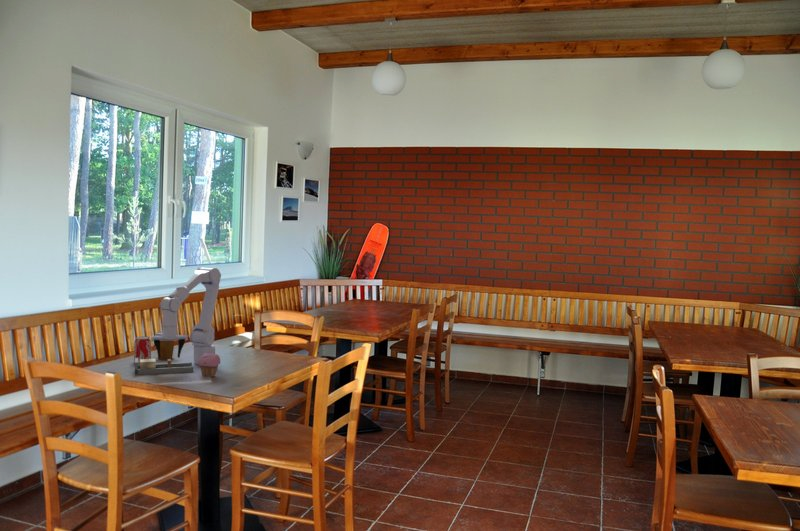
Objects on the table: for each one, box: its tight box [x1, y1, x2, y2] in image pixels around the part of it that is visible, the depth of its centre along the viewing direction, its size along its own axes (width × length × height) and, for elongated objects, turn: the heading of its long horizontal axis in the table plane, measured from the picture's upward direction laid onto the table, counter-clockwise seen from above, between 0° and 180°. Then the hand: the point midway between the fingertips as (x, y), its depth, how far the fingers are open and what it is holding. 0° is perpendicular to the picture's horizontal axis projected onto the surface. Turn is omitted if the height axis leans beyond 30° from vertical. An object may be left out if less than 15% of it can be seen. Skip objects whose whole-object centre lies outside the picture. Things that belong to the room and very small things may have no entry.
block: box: [139, 358, 172, 369], centre depth 279 cm, size 12×6×4 cm, turn 112°
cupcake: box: [198, 353, 221, 378], centre depth 276 cm, size 9×9×10 cm
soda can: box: [133, 336, 152, 365], centre depth 296 cm, size 7×7×12 cm
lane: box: [134, 358, 194, 376], centre depth 280 cm, size 23×10×6 cm, turn 112°
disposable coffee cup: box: [154, 331, 176, 360], centre depth 309 cm, size 10×10×12 cm
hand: (169, 357), depth 281 cm, fingers open, 7 cm apart
